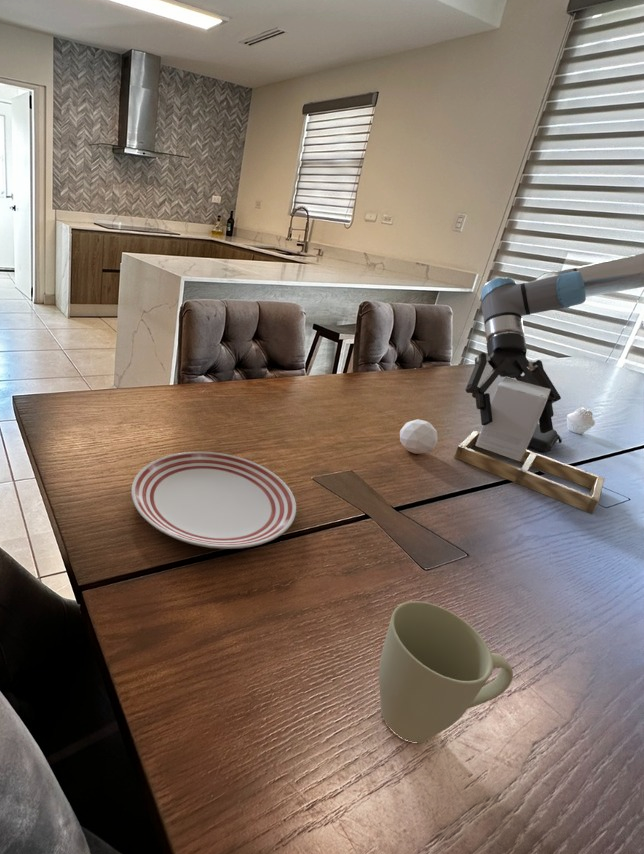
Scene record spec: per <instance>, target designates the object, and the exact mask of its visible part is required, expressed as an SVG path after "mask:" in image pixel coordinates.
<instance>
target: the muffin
mask: <svg viewBox="0 0 644 854" xmlns="http://www.w3.org/2000/svg"><path fill="white" fill-rule="evenodd" d="M595 421H596V420H595V419H593V412H592V411H591V410H590V409H588V408H584V407H580V408H578V407H577V409H576V410H575V411H572V412H570V413H568V414H567V415H566V424H567V430H568V431H570V432H571V433H574V434H578V435H582V434H584V433H586V432H587V431H588V430H590V429H592V428H593V427H595V425H596V422H595Z"/></svg>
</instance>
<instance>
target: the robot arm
mask: <svg viewBox="0 0 644 854" xmlns="http://www.w3.org/2000/svg"><path fill="white" fill-rule="evenodd" d="M641 288H644V252H643V253H638V254H635V255H634V254H633V255H629V256H624V257H619V258H614V259H610V260H606V261H600V262H596V263H590V264H587V265H582V266H576V267H574V268H568V269H563V270H559V271H554V270H553V271H548V272H545V273H542V274H541V275H539V276H537V278H536V279H535V280H532V281H527V282H523V283H517V281H516V280H515V279H513V278H512V277H504V278H503V277H496V278H494V279H491V280H489V281H487V282H486V283H485V284H484V285H483V286H482V288H481V291H480V292H481V293H480V296H481V297H480V298H481V301H480V304H481V310H482V311H481V312H482V318H483V325H484V333H485V341H486V351H487V354H486V353H485V352H481V353H480V354H479V355H477V356H475V357H474V366H473V370H472V372H471V374H470V378H469V380H468V382H467V385H466V387H465V392H466V393H467V394H471V397H472V398H473V399H475V407H476V409H477V410H479V412H480V422H481V426H483V425H487V424H489V423H491V422H493V421H492V412H491V395H490V393H489V392H487V391H488V389H490V387H491V385H492V384H493V383H494V382H495V381H496V379H498V377H499V376H500V378H505V377H507V378H511V379H515V380H518V381H522V382H526V383H529V384H533V385H537V386H541V387H544V388H548V389H551V390H550V393H549V396H548V399H547V402H546V404H545V407H544V409H543V412H542V414H541V417H540V419H539V422H538V424H539V425H540V431H541V433H546V432H548V431H551V430H553V429H554V426H553V425H554V424H553V419H552V418H553V417H554V415H555V414H554V413H555V412H554V407H553V404H554V403H556V402H558V401H560V400H561V399H562V397H561V395H560V393H559V392H558V390H557V389H556V387H555V385H554V383H553V382H552V380H551V379H550V377H549V375H548V374H547V372H546V370H545V369H544V364H543V361H542V360H540V359H537V360H536V361H530V360H528V358H527V351H528V349H527V343H526V338H525V335H526V334H525V327H524V322H523V318H522V317H523V316H529V315H532V314H533V315H534V314H539V313H544V312H550V311H555V310H559V309H569V308H571V307H574V306H578V305H581V304H584V303H585V302H586V300H587V298H589V297H594V296H596V297H597V296H600V295H605V294H611V293H617V292H618V293H619V292H624V291H629V290H635V289H641ZM487 364H488V365H489V366H490V367H491V371H490V372H489V373H487V376H486V378H485V379H483V381H482V382H481V383H480V381H481V379H482V376H483V373H484V371H485V368H486V366H487ZM522 374H523V375H522ZM479 383H480V385H479Z"/></svg>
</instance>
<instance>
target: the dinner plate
mask: <svg viewBox="0 0 644 854" xmlns="http://www.w3.org/2000/svg"><path fill="white" fill-rule="evenodd" d="M130 492H131V499H132V502H133V505H134V507H135V508H136V510H137V512H138V514H140V516H141V517H142V518H143V519H144V520H145V521H146V522H147V523H149V525H151V526H152V527H153V528H155V529H156V530H158V531H160V532H161V533H163V534H165V535H166V536H168V537H171V538H172V539H175V540H178V541H180V542H182V543H185V544H188V545H189V544H190V545H193V546H197V547H201V548H207V549H208V548H209V549H218V550H219V549H220V550H235V549H246V548H253V547H256V546H261V545H263V544H266V543H268V542H269V543H270V542H271V541H274V540H275V539H277V538H279V537H280V536H282V535H283V534H284V533H285V532H286V531H287V530H288V529H289V528H290V527H291V526H292V524H293V522H294V520H295V518H296V514H297V503H296V499H295V496H294V494H293V492H292V489H290V487H289V486H288V485H287V483H285V481H284V480H282V479H281V478H280V477H279V476H278V475H277V474H275V473H274V472H272V471H271V470H270V469H268V468H267V467H265V466H262V465H261V464H258V463H256V462H254V461H253V460H249V459H246V458H243V457H239V456H236V455H232V454H227V453H221V452H215V451H184V452H179V453H177V452H176V453H173V454H168V455H166V456H163V457H160V458H157V459H155V460H153V461H151V462H149V463H148V464H146V465H145V466H143V468H141V469H140V471H138V473H137V474H136V476H135V477H134V479H133V481H132V483H131V491H130Z"/></svg>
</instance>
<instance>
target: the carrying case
mask: <svg viewBox="0 0 644 854" xmlns="http://www.w3.org/2000/svg"><path fill="white" fill-rule="evenodd" d="M557 441H558V444H561V443H562V442H563V438H562V436H560V434H559V433H558V432H557V430H555V429H554V428H553V430H551V431H548V432H546V433H541V431H540V425H539V423H538V424H537V426H536V429H535V431H534V433H533V436H532V438H531V440H530V442H529V445H528V447H527V449H529V450H531V451H532V450H533V451H534V452H537V453H545V452H550V451H551V449H552V448H553V446H554V445H555V444H556V443H557Z"/></svg>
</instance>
